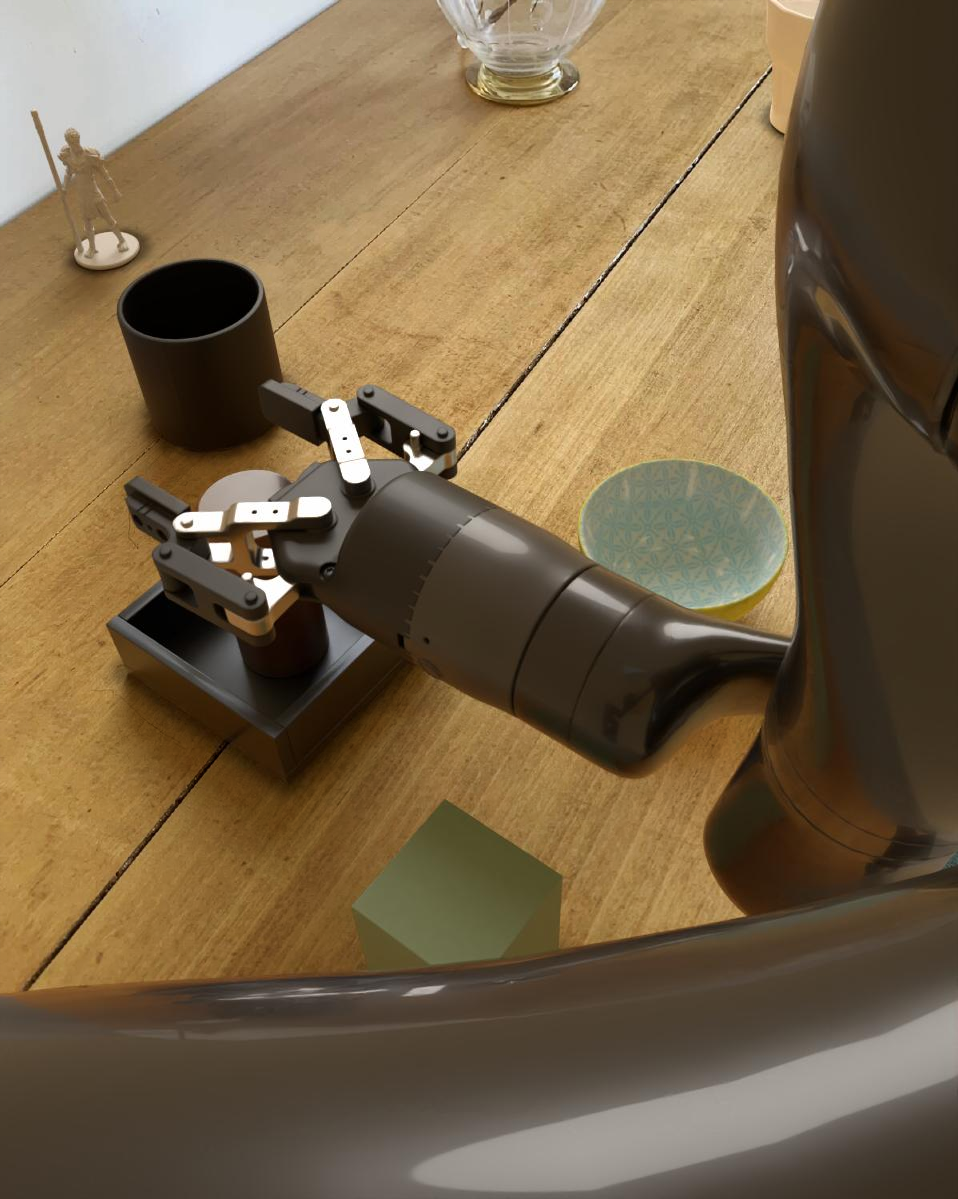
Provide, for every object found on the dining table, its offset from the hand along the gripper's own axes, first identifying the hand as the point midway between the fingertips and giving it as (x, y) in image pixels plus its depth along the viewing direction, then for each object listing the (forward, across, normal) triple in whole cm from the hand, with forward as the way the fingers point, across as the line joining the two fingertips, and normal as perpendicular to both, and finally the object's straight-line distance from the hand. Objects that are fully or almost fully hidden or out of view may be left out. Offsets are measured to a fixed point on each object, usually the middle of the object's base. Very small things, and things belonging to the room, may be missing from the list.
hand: (201, 444), depth 53 cm
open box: (-2, 0, +15) cm, 15 cm away
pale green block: (-22, +9, +15) cm, 28 cm away
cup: (+1, -74, +14) cm, 76 cm away
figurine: (+39, -22, +15) cm, 47 cm away
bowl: (-18, -16, +15) cm, 28 cm away
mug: (+18, -13, +15) cm, 27 cm away
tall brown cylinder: (-2, 0, +14) cm, 14 cm away
